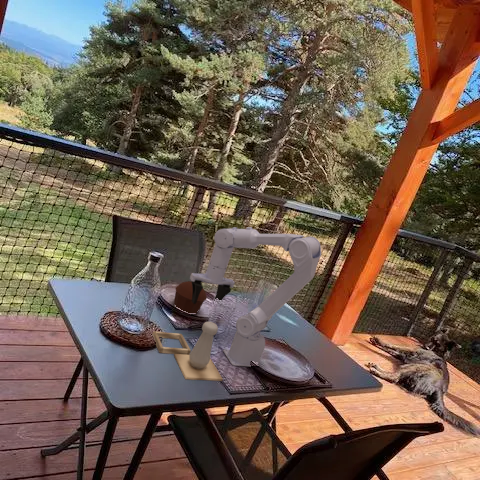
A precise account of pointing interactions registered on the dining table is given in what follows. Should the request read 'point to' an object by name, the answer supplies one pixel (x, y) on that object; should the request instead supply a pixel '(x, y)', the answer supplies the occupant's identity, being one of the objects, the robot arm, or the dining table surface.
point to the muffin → (188, 298)
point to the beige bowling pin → (203, 346)
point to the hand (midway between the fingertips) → (204, 303)
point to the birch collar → (167, 349)
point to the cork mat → (197, 374)
